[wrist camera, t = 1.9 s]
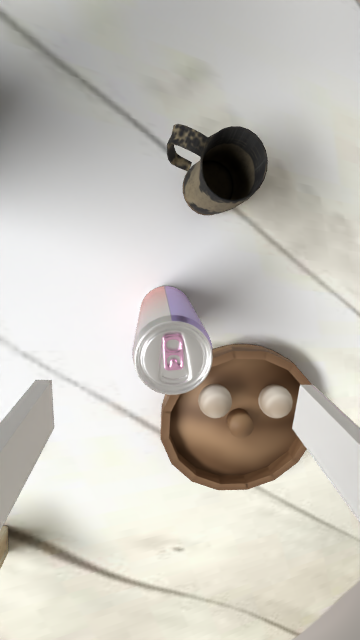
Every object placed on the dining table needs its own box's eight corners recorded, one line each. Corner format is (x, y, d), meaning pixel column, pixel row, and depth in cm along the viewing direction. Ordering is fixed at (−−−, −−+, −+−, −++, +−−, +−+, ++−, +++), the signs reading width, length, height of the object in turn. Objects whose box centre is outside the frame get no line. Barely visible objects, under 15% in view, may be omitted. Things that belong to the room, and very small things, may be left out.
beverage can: (190, 283, 35) (215, 316, 21) (191, 332, 37) (215, 394, 22) (138, 286, 35) (127, 322, 20) (142, 335, 36) (134, 400, 22)
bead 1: (197, 377, 37) (202, 394, 33) (228, 378, 38) (237, 394, 34) (195, 406, 38) (199, 425, 34) (225, 406, 39) (233, 425, 35)
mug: (242, 174, 32) (292, 139, 21) (222, 223, 33) (258, 217, 22) (174, 141, 31) (186, 85, 19) (155, 194, 32) (156, 171, 21)
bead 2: (255, 378, 38) (267, 394, 34) (286, 379, 38) (301, 394, 34) (252, 406, 39) (262, 425, 35) (281, 406, 39) (295, 425, 35)
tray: (164, 341, 37) (165, 350, 34) (319, 345, 39) (333, 354, 36) (158, 476, 42) (158, 494, 39) (295, 474, 44) (305, 491, 41)
